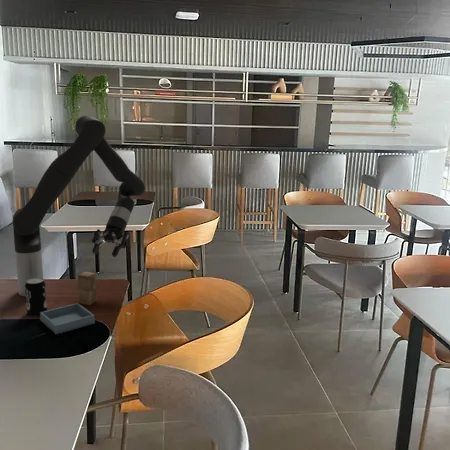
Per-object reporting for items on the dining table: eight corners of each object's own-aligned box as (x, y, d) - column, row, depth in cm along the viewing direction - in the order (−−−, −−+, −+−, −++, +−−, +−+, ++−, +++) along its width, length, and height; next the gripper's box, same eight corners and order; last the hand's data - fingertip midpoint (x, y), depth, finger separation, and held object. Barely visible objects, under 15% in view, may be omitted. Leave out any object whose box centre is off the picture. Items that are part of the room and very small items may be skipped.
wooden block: (86, 299, 176) (85, 271, 174) (96, 300, 175) (95, 272, 172) (79, 303, 172) (78, 275, 170) (89, 305, 171) (88, 276, 168)
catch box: (40, 320, 157) (39, 312, 156) (77, 310, 165) (77, 302, 165) (56, 334, 147) (55, 325, 146) (94, 323, 156) (94, 315, 155)
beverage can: (42, 316, 160) (40, 283, 157) (23, 316, 160) (21, 283, 157) (50, 309, 166) (48, 277, 164) (32, 308, 166) (29, 276, 164)
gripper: (99, 213, 188) (83, 248, 180) (130, 216, 183) (116, 252, 175) (107, 223, 194) (92, 257, 186) (137, 226, 189) (123, 261, 181)
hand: (103, 254), depth 181 cm, fingers open, 8 cm apart
